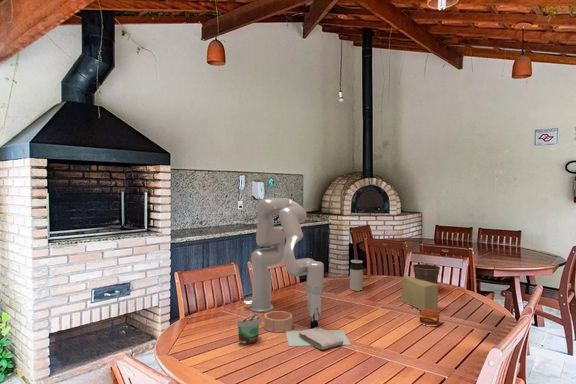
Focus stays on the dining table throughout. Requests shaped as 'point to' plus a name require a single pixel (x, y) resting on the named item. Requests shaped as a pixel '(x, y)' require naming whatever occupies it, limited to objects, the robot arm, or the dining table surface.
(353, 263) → the travel mug
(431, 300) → the olive green box
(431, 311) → the hamburger
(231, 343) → the dining table surface
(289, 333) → the mat
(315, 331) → the washcloth
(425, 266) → the plant pot
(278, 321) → the bowl
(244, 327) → the food container
